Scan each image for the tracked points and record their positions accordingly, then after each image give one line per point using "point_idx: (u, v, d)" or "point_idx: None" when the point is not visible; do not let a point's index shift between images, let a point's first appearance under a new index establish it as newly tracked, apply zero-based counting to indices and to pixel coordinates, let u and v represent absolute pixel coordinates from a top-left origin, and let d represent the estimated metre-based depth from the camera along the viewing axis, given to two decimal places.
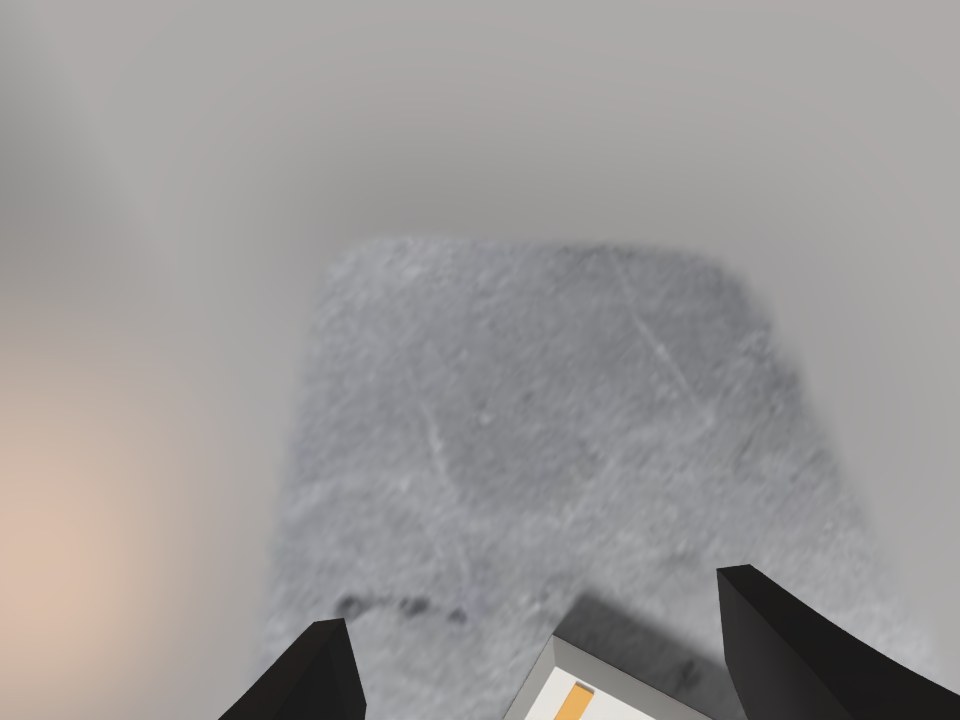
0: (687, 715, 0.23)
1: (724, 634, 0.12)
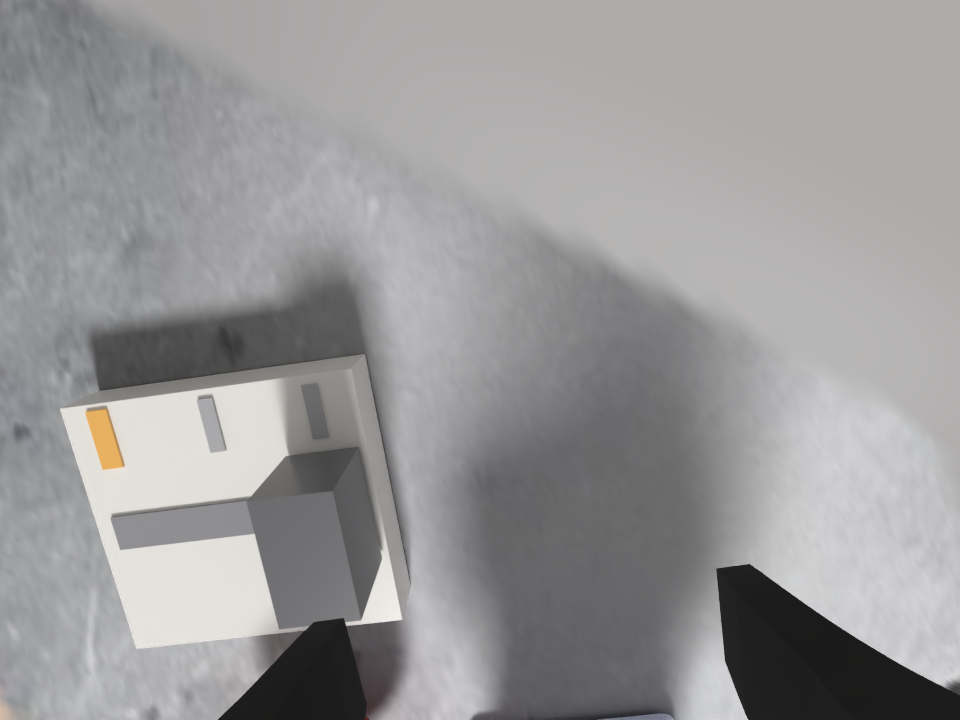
0: (237, 375, 0.21)
1: (724, 634, 0.12)
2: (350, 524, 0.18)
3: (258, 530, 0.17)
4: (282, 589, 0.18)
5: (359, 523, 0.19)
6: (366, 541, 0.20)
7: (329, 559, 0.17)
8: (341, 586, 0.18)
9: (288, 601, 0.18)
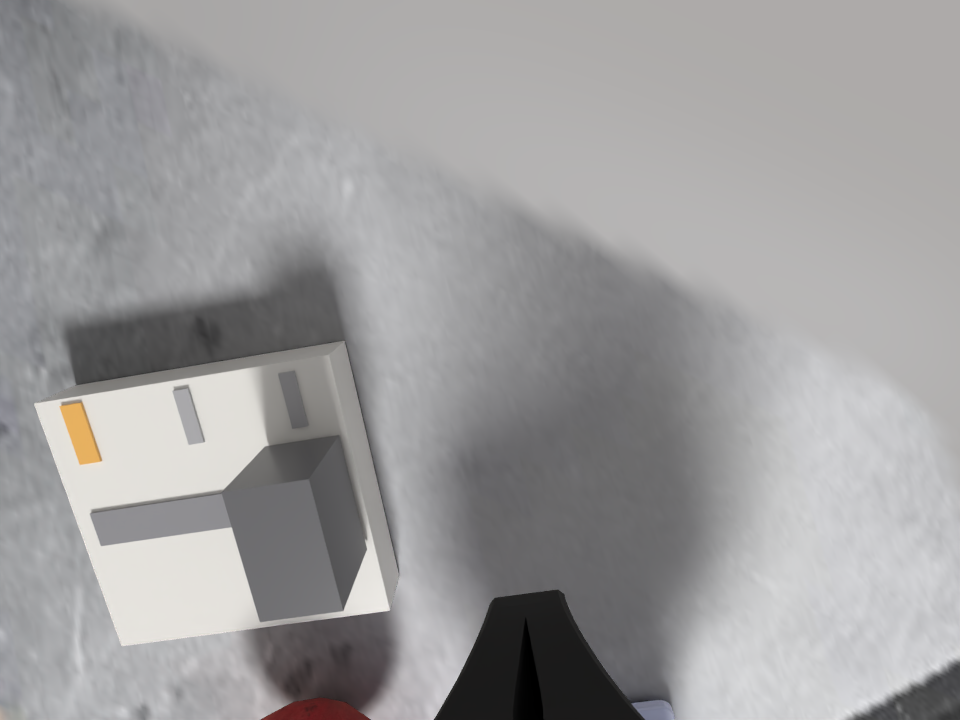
0: (215, 365, 0.21)
1: None
2: (330, 513, 0.18)
3: (234, 521, 0.17)
4: (261, 581, 0.17)
5: (340, 512, 0.19)
6: (348, 531, 0.19)
7: (308, 549, 0.17)
8: (321, 576, 0.17)
9: (268, 593, 0.17)
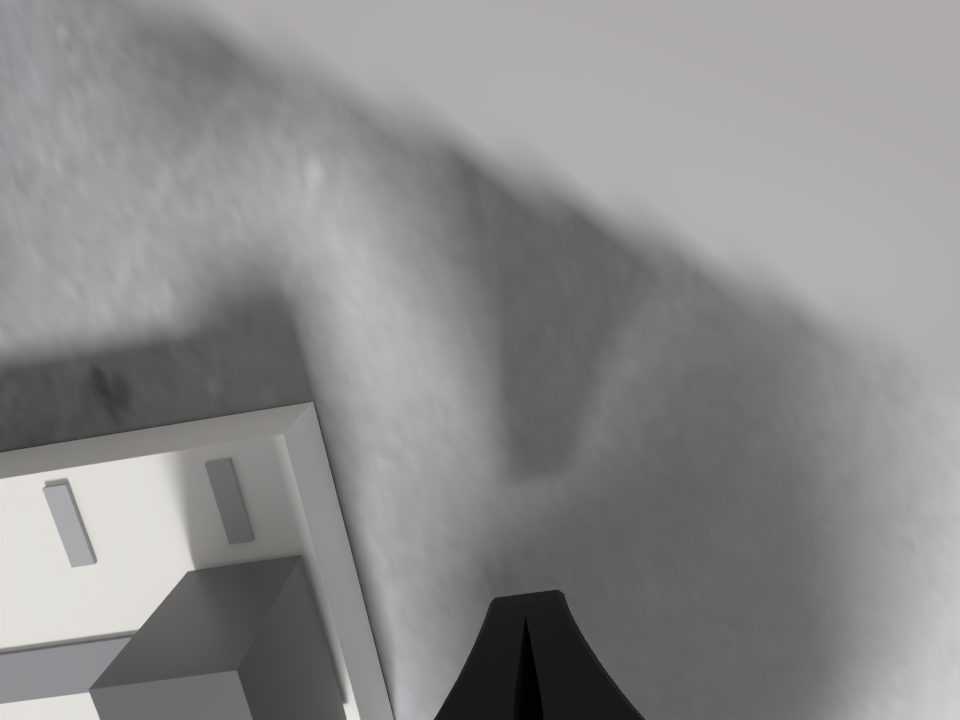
0: (118, 441, 0.14)
1: None
2: (280, 706, 0.11)
3: None
4: None
5: (300, 690, 0.12)
6: (315, 712, 0.12)
7: None
8: None
9: None
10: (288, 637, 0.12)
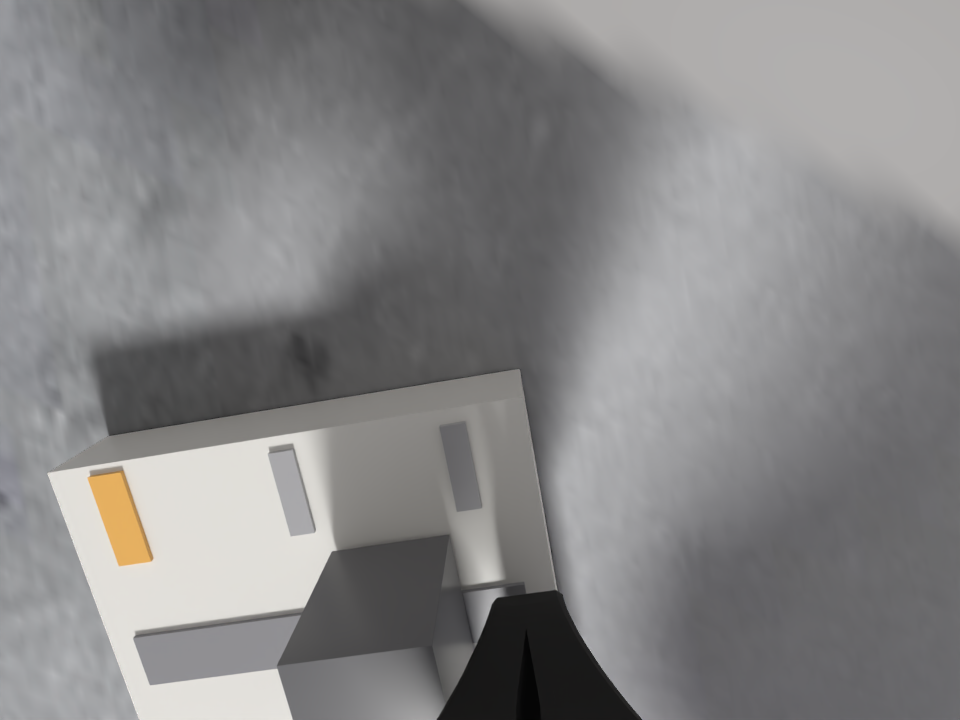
0: (325, 408, 0.14)
1: None
2: (454, 685, 0.11)
3: (299, 712, 0.10)
4: None
5: (462, 670, 0.11)
6: None
7: None
8: None
9: None
10: (451, 616, 0.11)
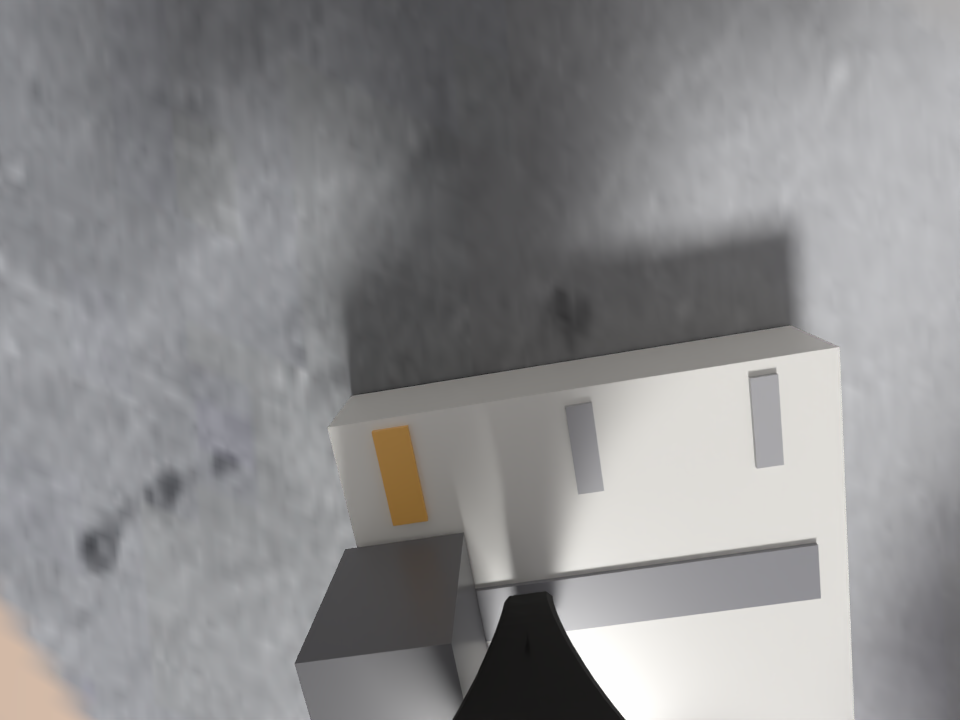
0: (596, 364, 0.13)
1: None
2: None
3: (316, 710, 0.10)
4: None
5: (477, 668, 0.11)
6: None
7: None
8: None
9: None
10: (467, 614, 0.11)
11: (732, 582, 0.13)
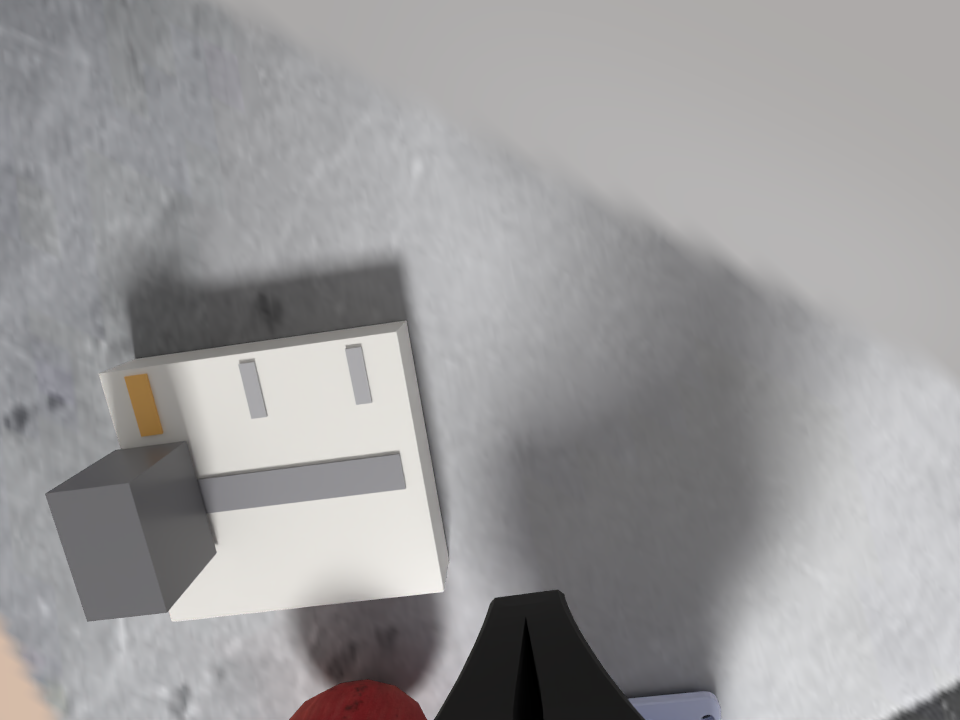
0: (277, 341, 0.21)
1: None
2: (160, 517, 0.18)
3: (59, 522, 0.18)
4: (87, 581, 0.18)
5: (176, 516, 0.19)
6: (188, 534, 0.20)
7: (130, 551, 0.18)
8: (144, 578, 0.18)
9: (94, 593, 0.18)
10: (170, 483, 0.19)
11: (352, 478, 0.21)
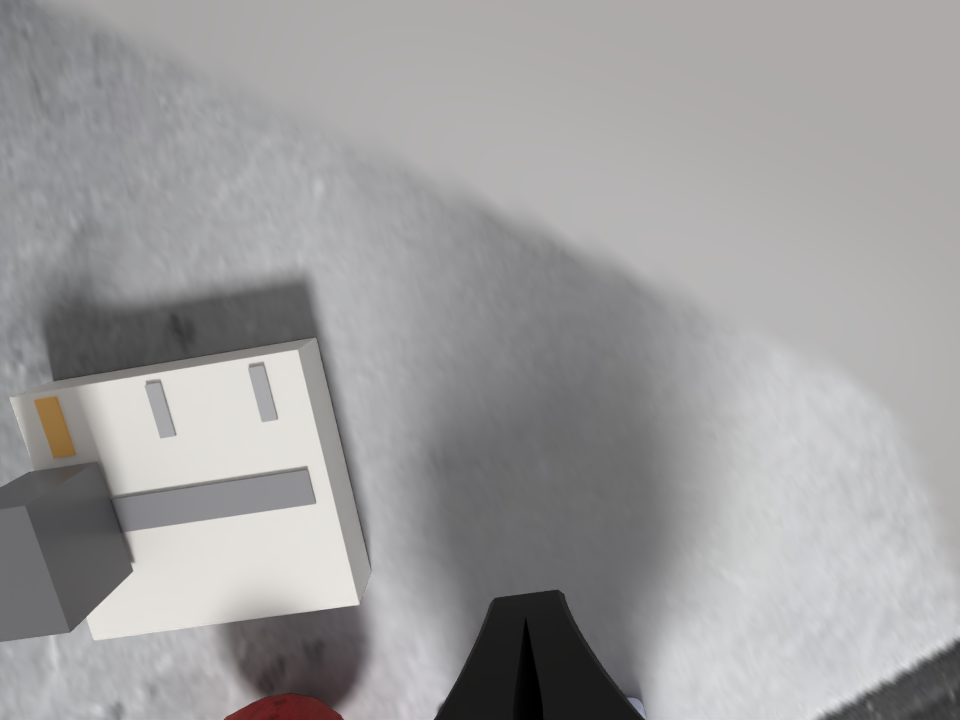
0: (188, 361, 0.21)
1: None
2: (63, 538, 0.19)
3: None
4: None
5: (84, 536, 0.19)
6: (98, 554, 0.20)
7: (31, 572, 0.18)
8: (46, 599, 0.18)
9: None
10: (76, 504, 0.19)
11: (263, 494, 0.21)
